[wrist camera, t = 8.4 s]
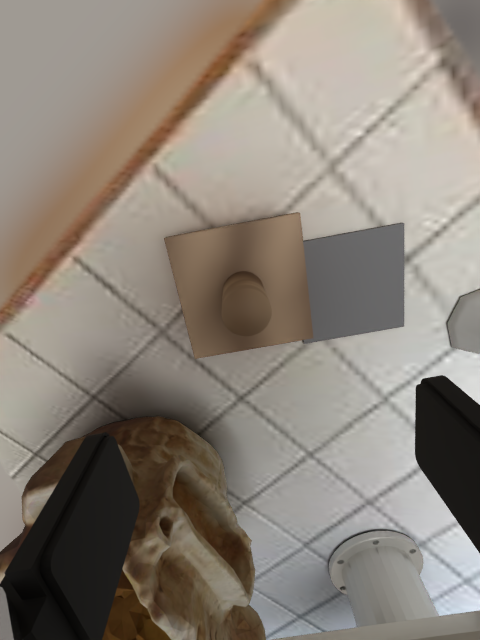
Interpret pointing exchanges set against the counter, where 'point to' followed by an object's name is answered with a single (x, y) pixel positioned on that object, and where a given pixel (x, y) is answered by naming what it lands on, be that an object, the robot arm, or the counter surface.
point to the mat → (356, 282)
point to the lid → (242, 285)
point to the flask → (466, 323)
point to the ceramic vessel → (168, 538)
